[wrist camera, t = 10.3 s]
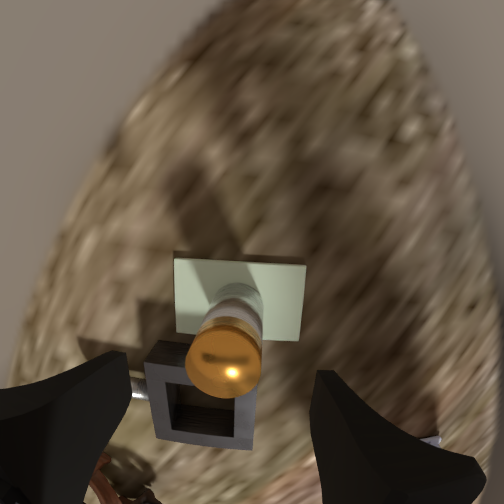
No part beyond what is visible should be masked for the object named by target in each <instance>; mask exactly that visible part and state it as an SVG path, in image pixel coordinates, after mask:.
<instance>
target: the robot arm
mask: <svg viewBox="0 0 504 504" xmlns="http://www.w3.org/2000/svg"><path fill="white" fill-rule="evenodd" d="M132 395H133V392H132V387H131V381H130V375H129V369H128V363H127V357H126V353H124V352H118V351H113V350H112V351H110V352H107V353H105V354H102V355H100V356H98V357H96V358H94V359H92V360H89V361H87V362H85V363H83V364H81V365H79V366H77V367H75V368H72V369H70V370H68V371H65V372H63V373H60V374H58V375H56V376H53V377H50V378H48V379H45V380H42V381H38V382H35V383H31V384H27V385H23V386H17V387H12V388H6V389H0V504H83V501H84V497H85V494H86V491H87V488H88V485H89V482H90V480H91V477H92V474H93V472H94V469H95V467H96V465H97V462H98V460H99V458H100V456H101V454H102V452H103V450H104V449H105V447H106V445H107V444H108V442H109V440H110V439H111V437H112V435H113V434H114V432H115V430H116V429H117V427H118V425H119V423H120V422H121V420H122V418H123V417H124V415H125V413H126V410H127V408H128V406H129V403H130V400H131V398H132ZM309 414H310V429H311V437H312V442H313V447H314V452H315V457H316V461H317V466H318V471H319V476H320V481H321V488H322V502H323V504H472V503H473V501H474V500H475V499H476V498H477V497H478V495H479V494H480V493H481V491H482V490H483V488H484V486H485V483H486V481H487V480H486V476H485V474H484V472H483V471H482V469H481V467H480V466H479V464H478V463H477V461H476V459H475V458H474V457H470V456H466V455H462V454H458V453H454V452H450V451H447V450H444V449H441V448H440V446H439V443H440V441H441V437H440V436H434V437H429V438H424V439H418V438H416V437H414V436H412V435H410V434H408V433H406V432H404V431H403V430H401V429H399V428H398V427H396V426H395V425H393V424H392V423H390V422H389V421H387V420H386V419H384V418H383V417H382V416H380V415H379V414H378V413H377V412H375V411H374V410H373V409H372V408H371V407H369V406H368V405H367V404H366V403H365V402H364V401H363V400H362V399H361V398H360V397H359V396H358V395H357V394H356V393H355V392H354V391H353V390H352V389H351V388H350V387H349V386H348V385H347V384H346V383H345V382H344V381H343V380H342V379H341V378H340V377H339V376H338V375H337V374H336V372H335V371H334V370H317V374H316V379H315V385H314V390H313V396H312V401H311V406H310V411H309Z"/></svg>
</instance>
